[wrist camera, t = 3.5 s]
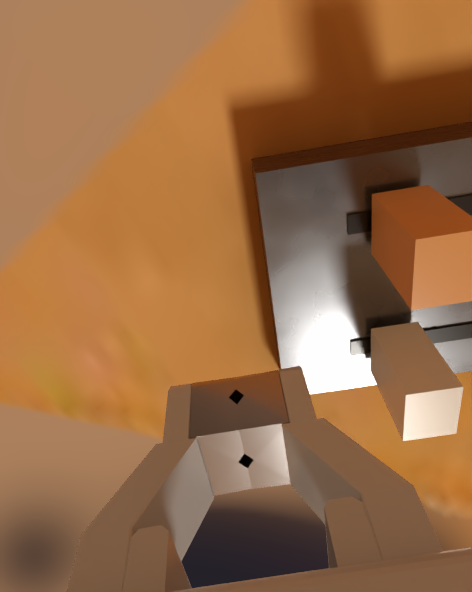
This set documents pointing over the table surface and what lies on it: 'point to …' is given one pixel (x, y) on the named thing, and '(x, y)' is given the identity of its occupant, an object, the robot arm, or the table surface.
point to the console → (352, 250)
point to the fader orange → (423, 246)
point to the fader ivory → (415, 381)
